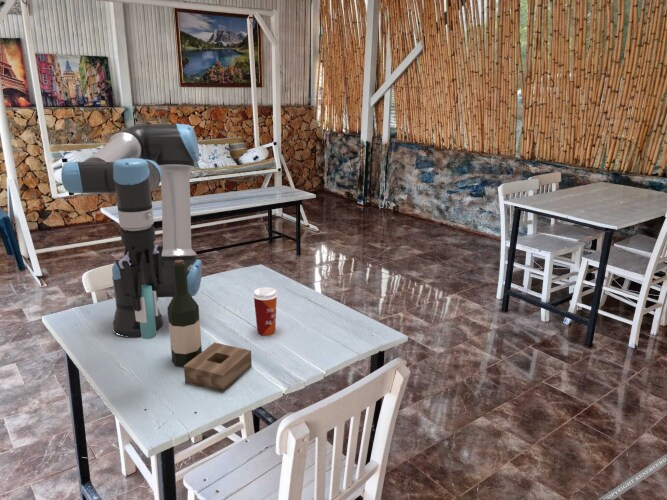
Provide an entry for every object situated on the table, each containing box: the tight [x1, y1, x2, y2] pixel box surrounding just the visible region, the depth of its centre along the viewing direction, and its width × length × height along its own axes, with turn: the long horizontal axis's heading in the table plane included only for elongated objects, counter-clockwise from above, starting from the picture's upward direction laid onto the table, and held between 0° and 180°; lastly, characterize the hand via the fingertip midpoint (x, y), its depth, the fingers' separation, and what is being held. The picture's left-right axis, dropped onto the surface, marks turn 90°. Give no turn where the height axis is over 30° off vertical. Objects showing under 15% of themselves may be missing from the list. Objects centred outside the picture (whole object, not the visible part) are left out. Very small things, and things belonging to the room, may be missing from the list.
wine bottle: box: [166, 260, 203, 368], centre depth 146 cm, size 8×8×30 cm
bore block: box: [183, 342, 253, 394], centre depth 142 cm, size 12×14×5 cm
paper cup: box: [252, 286, 279, 337], centre depth 165 cm, size 8×8×14 cm
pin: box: [140, 284, 158, 340], centre depth 129 cm, size 4×4×13 cm
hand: (147, 317), depth 129 cm, fingers closed on pin, 3 cm apart
